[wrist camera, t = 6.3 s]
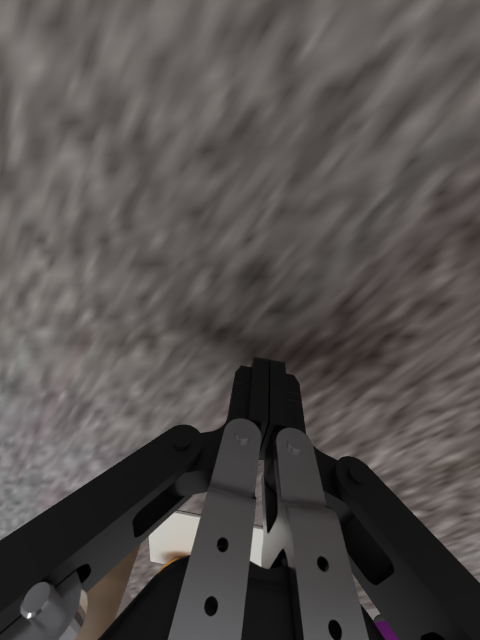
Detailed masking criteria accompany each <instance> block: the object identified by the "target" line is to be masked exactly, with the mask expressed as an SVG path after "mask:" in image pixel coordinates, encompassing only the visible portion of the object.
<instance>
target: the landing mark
mask: <svg viewBox="0 0 480 640" xmlns="http://www.w3.org/2000/svg"><path fill="white" fill-rule="evenodd" d="M200 517H201V515H197V514H192V513H187V512H182V511H175V512H174V513H173V514H172V515H171V516H170V517H169V518H168V519H167V520H165V521H164V522H163V523H162V524H161V525H160V526H159V527H158V528H157V529H156V530H155V531H153V532H152V533H151V534H150V535H149V545H150V559H151V561H152V562H157V563H162V564H166V563H167V562H169V561H170V560H172V559H175V558H179V557H185V556H188V555H190V554H191V551H192V547H193V543H194V539H195V536H196V532H197V528H198V524H199V520H200ZM262 546H263V527H260V526H255V525H254V527H253V536H252V545H251V554H250V561H252V562H253V563H255V564H257V565H259V566H261V555H262Z"/></svg>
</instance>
